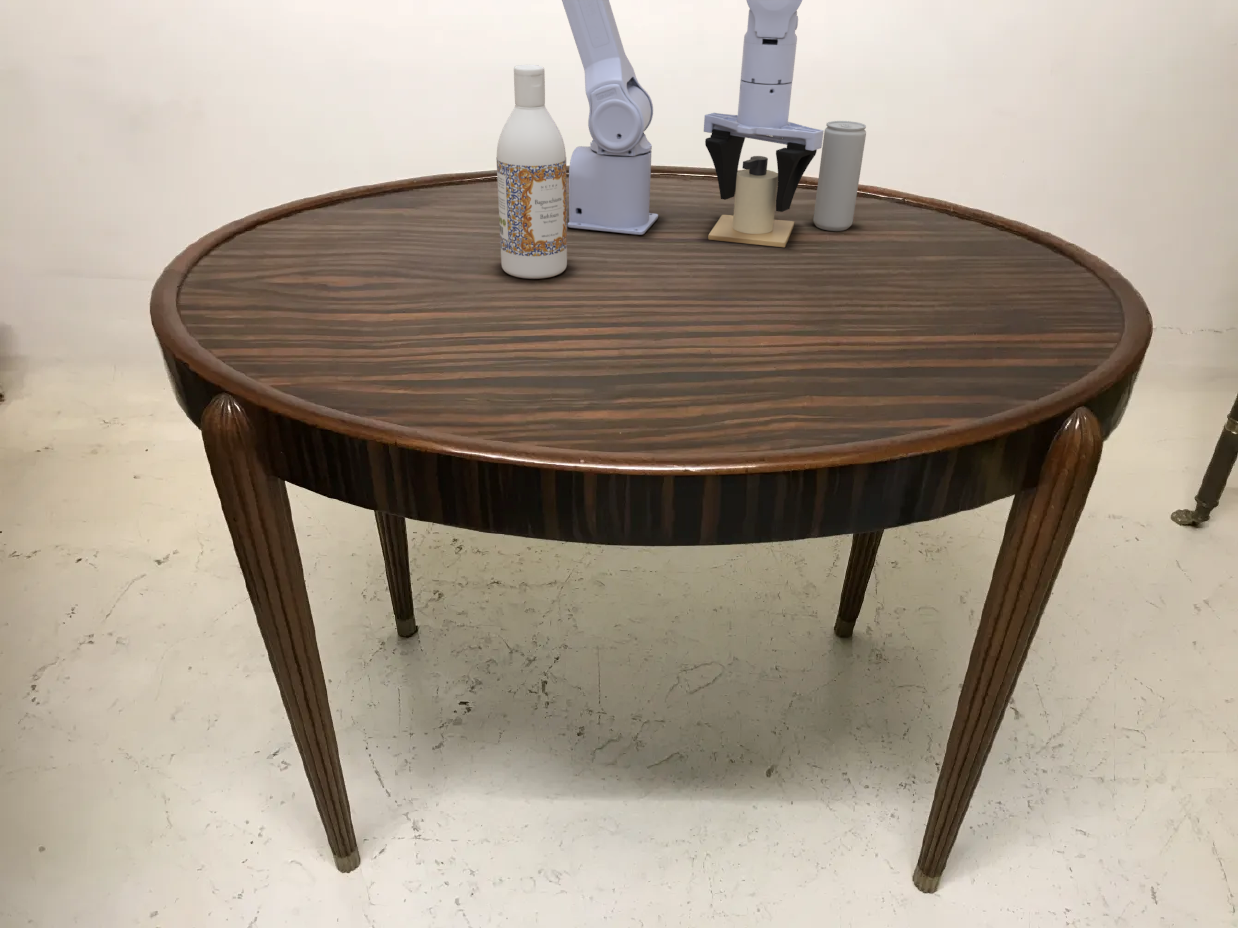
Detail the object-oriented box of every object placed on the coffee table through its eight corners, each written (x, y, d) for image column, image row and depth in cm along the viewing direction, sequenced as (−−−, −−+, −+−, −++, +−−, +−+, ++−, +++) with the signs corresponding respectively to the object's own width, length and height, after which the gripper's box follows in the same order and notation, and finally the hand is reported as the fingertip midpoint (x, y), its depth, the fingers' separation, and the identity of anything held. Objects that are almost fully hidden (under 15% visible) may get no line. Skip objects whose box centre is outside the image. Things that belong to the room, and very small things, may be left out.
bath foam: (521, 285, 95) (513, 74, 84) (490, 265, 100) (479, 64, 89) (579, 273, 98) (579, 69, 88) (546, 255, 103) (542, 60, 93)
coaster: (707, 239, 109) (708, 234, 109) (721, 219, 116) (722, 214, 116) (784, 247, 107) (785, 242, 107) (794, 226, 114) (794, 221, 114)
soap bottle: (746, 220, 114) (752, 151, 110) (780, 227, 112) (787, 157, 108) (722, 229, 111) (727, 158, 106) (757, 237, 108) (764, 165, 104)
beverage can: (849, 221, 117) (864, 121, 110) (854, 233, 112) (869, 129, 106) (810, 220, 117) (823, 120, 111) (813, 231, 113) (827, 128, 107)
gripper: (691, 77, 104) (684, 199, 111) (806, 93, 96) (791, 222, 103) (726, 70, 109) (717, 188, 116) (838, 85, 101) (821, 210, 108)
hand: (754, 203), depth 110 cm, fingers open, 7 cm apart
